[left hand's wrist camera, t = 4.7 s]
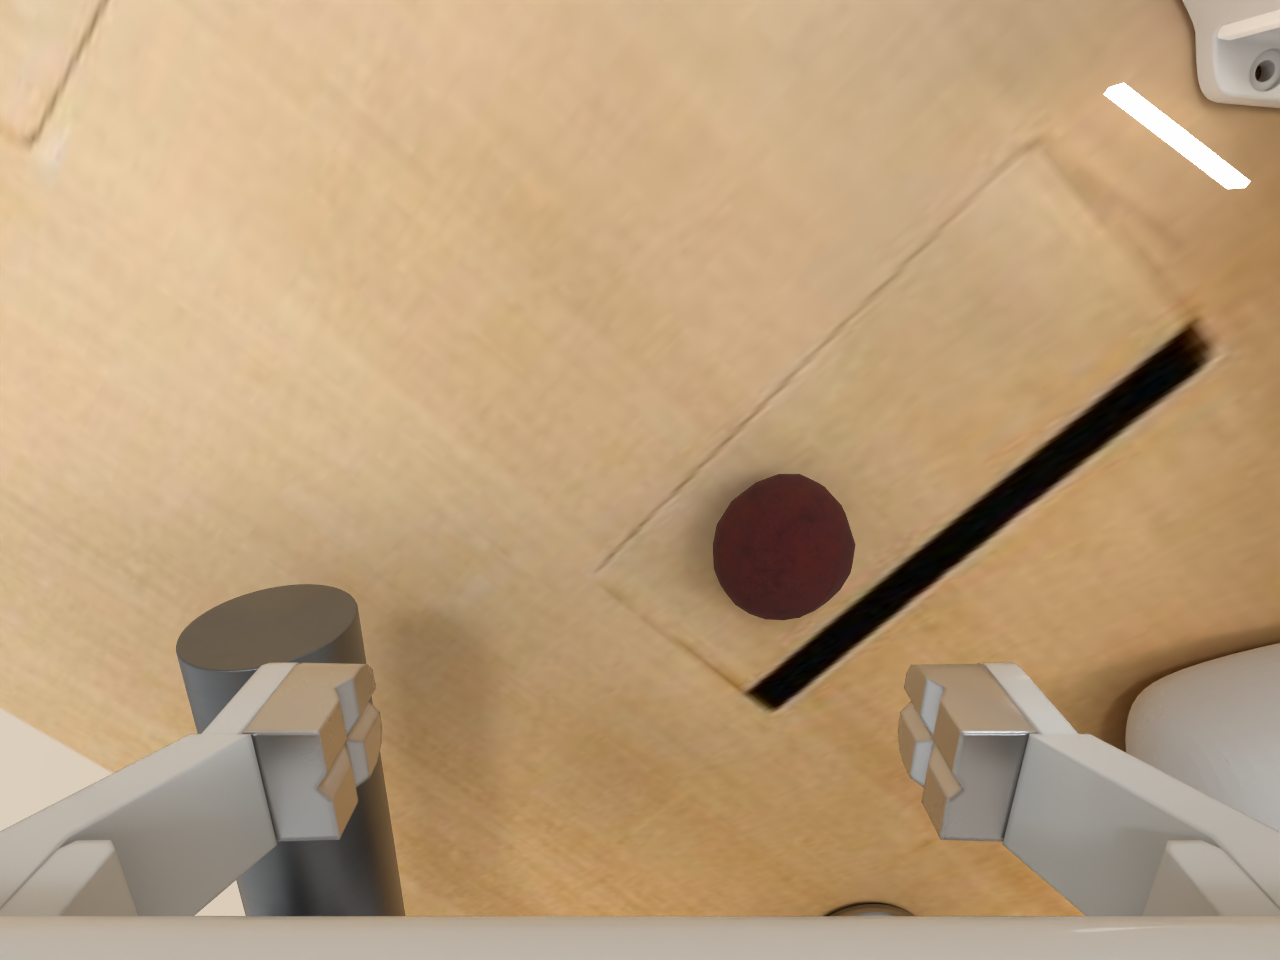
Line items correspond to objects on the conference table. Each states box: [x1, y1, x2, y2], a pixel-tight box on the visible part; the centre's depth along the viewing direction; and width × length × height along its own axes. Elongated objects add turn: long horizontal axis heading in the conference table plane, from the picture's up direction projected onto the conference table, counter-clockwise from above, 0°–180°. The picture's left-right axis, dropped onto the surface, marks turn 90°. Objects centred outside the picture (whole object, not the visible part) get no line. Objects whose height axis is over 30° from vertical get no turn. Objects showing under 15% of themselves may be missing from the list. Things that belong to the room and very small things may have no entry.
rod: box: [176, 584, 405, 916], centre depth 30 cm, size 24×6×6 cm, turn 0°
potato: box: [713, 474, 855, 620], centre depth 36 cm, size 7×8×7 cm
